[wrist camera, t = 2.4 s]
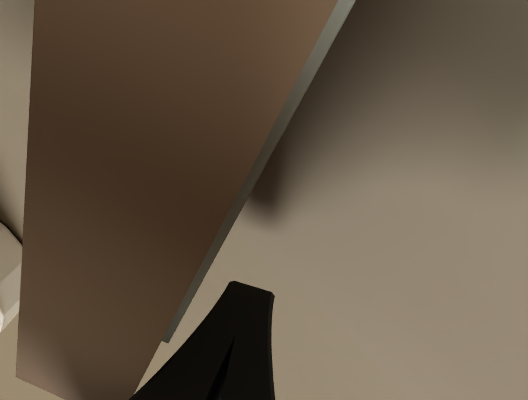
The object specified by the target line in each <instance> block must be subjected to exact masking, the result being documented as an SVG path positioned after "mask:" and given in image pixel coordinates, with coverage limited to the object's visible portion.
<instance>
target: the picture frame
mask: <svg viewBox="0 0 528 400" xmlns="http://www.w3.org/2000/svg"><path fill="white" fill-rule="evenodd" d="M355 1H356V0H35V7H34V26H33V46H32V66H31V86H30V105H29V125H28V145H27V164H26V184H25V204H24V224H23V243H22V263H21V283H20V302H19V322H18V342H17V362H16V377H17V378H19V379H21V380H23V381H26V382H28V383H30V384H32V385H34V386H37V387H39V388H41V389H43V390H45V391H48V392H50V393H52V394H54V395H56V396H59V397H61V398H63V399H65V400H129V399H130V398H131V397H132V396H133V395H134V393H135V391H136V389H137V387H138V385H139V383H140V381H141V379H142V377H143V375H144V373H145V372H146V370H147V368H148V366H149V364H150V362H151V360H152V358H153V356H154V354H155V352H156V350H157V348H158V346H159V345H160V343H161V341H164V342H166V343H169V341H170V339H171V338H172V336H173V334H174V332H175V330H176V328H177V327H178V325H179V323H180V321H181V319H182V317H183V316H184V314H185V312H186V310H187V308H188V306H189V305H190V303H191V301H192V299H193V297H194V295H195V294H196V292H197V290H198V288H199V286H200V284H201V283H202V281H203V279H204V277H205V275H206V273H207V272H208V270H209V268H210V266H211V264H212V262H213V261H214V259H215V257H216V255H217V253H218V252H219V250H220V248H221V246H222V244H223V242H224V241H225V239H226V237H227V235H228V233H229V231H230V230H231V228H232V226H233V224H234V222H235V220H236V219H237V217H238V215H239V213H240V211H241V209H242V208H243V206H244V204H245V202H246V200H247V198H248V197H249V195H250V193H251V191H252V189H253V187H254V186H255V184H256V182H257V180H258V178H259V176H260V175H261V173H262V171H263V169H264V167H265V165H266V164H267V162H268V160H269V158H270V156H271V155H272V153H273V151H274V149H275V147H276V145H277V144H278V142H279V140H280V138H281V136H282V134H283V133H284V131H285V129H286V127H287V125H288V123H289V122H290V120H291V118H292V116H293V114H294V112H295V111H296V109H297V107H298V105H299V103H300V101H301V100H302V98H303V96H304V94H305V92H306V90H307V89H308V87H309V85H310V83H311V81H312V79H313V78H314V76H315V74H316V72H317V70H318V68H319V67H320V65H321V63H322V61H323V59H324V57H325V56H326V54H327V52H328V50H329V48H330V47H331V45H332V43H333V41H334V39H335V37H336V36H337V34H338V32H339V30H340V28H341V26H342V25H343V23H344V21H345V19H346V17H347V15H348V14H349V12H350V10H351V8H352V6H353V4H354V3H355Z"/></svg>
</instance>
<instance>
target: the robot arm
mask: <svg viewBox="0 0 528 400" xmlns="http://www.w3.org/2000/svg"><path fill="white" fill-rule="evenodd" d="M274 297H275V296H274V295H273V293H272V292H270V291H266V290H263V289H260V288H256V287H253V286H250V285H247V284H243V283H240V282H237V281H231V282H229V284H228V286H227V287H226V289H225V291H224V292H223V294H222V295H221V297H220V298H219V300H218V301H217V303H216V304H215V306H214V307H213V308H212V310H211V311H210V312H209V314H208V315H207V316H206V317H205V319H204V320H203V321H202V322H201V324H200V325H199V326H198V327H197V328H196V330H195V331H194V332H193V333H192V334H191V336H190V337H189V338H188V339H187V340H186V342H185V343H184V344H183V345H182V346H181V347H180V348H179V349H178V350H177V352H176V353H175V354H174V355H173V356H172V357H171V358H170V359H169V360H168V361H167V362H166V363H165V364H164V365H163V366H162V368H161V369H160V370H159V371H158V372H157V373H156V374H155V375H154V376H153V377H152V378H151V379H150V380H149V381H148V382H147V383H146V384H145V385H144V386H143V387H142V388H141V389H140V390H138V391H137V392H136V393H135V394H134V395H133V396H132V397H131V398H130V399H129V400H275V393H274V382H273V368H272V348H271V325H272V310H273V302H274Z"/></svg>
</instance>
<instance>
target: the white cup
mask: <svg viewBox="0 0 528 400" xmlns="http://www.w3.org/2000/svg"><path fill="white" fill-rule="evenodd" d="M21 263H22V245H21V244H20V242H19V241H18V240H17V239H16V238H15V236H14V235H13V234H12V233H11V232H10V231H9V229H8V228H7V227H6V226H4V225H3V224H2V223H0V332H1V331H2V330H3V329H4V328H5V327H6V326H7V325H8V323H9V322H10V321H11V320H12V319H13V318H14V317H15V315H16V314H17V313H18V312H19V302H20V283H21Z"/></svg>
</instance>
